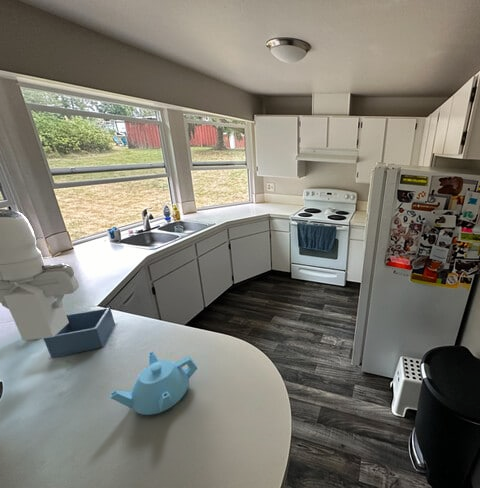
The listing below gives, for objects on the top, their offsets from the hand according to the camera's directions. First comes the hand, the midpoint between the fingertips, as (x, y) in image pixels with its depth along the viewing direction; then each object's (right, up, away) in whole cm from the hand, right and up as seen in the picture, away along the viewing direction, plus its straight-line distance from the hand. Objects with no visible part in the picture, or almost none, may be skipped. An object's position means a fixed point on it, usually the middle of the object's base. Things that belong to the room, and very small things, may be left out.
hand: (38, 310), depth 74 cm
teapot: (+38, -24, -2) cm, 45 cm away
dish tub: (-3, -16, +18) cm, 24 cm away
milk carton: (0, -8, +3) cm, 8 cm away
